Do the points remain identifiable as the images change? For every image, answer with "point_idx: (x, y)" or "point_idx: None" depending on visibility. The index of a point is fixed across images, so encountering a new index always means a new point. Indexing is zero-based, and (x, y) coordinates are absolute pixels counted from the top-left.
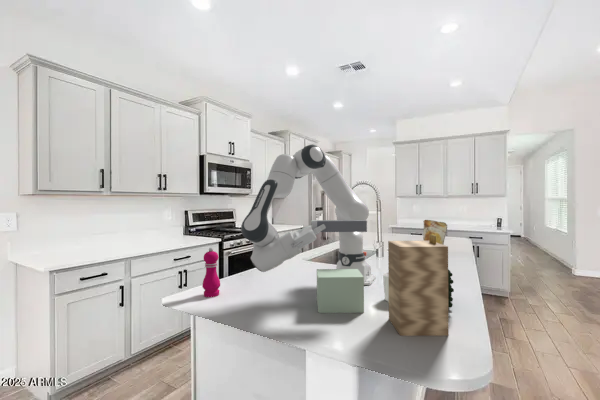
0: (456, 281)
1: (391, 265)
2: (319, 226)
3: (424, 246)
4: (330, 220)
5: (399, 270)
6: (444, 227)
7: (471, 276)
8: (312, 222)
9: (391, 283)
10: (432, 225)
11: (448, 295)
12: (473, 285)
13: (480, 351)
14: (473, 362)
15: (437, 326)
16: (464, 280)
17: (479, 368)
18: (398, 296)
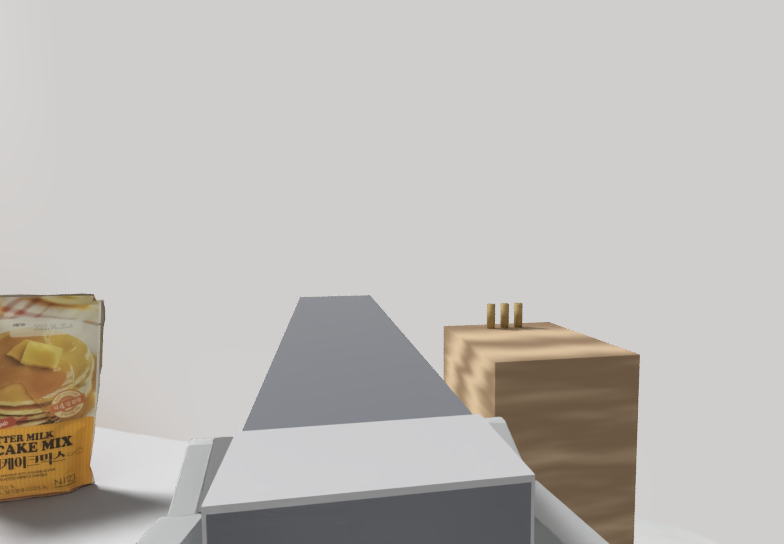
0: (133, 458)
1: (537, 453)
2: (540, 484)
3: (581, 335)
4: (320, 353)
5: (632, 440)
6: (91, 309)
7: (110, 430)
8: (522, 500)
9: None
10: (17, 312)
11: None
12: (184, 442)
13: None
14: (660, 535)
15: None
16: (135, 445)
17: (679, 533)
18: (617, 537)
